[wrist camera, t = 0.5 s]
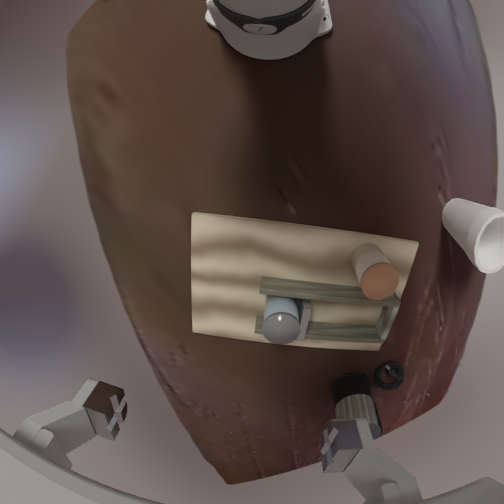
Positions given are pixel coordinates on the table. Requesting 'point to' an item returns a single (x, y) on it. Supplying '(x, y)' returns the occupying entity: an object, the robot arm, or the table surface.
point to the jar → (374, 272)
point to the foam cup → (477, 232)
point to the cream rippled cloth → (289, 280)
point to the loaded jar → (281, 319)
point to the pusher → (303, 317)
